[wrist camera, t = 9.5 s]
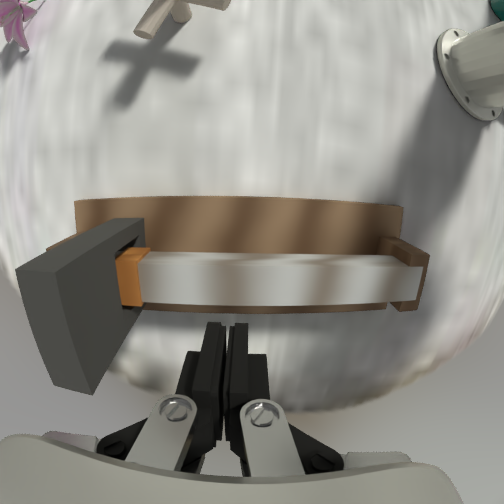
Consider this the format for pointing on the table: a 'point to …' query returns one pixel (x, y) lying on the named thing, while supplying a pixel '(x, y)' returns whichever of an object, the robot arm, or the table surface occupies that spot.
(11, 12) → the lily
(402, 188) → the table surface
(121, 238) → the dark grey tapered slab
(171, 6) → the pipe connector
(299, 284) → the pipe stand
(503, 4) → the teal bottle
